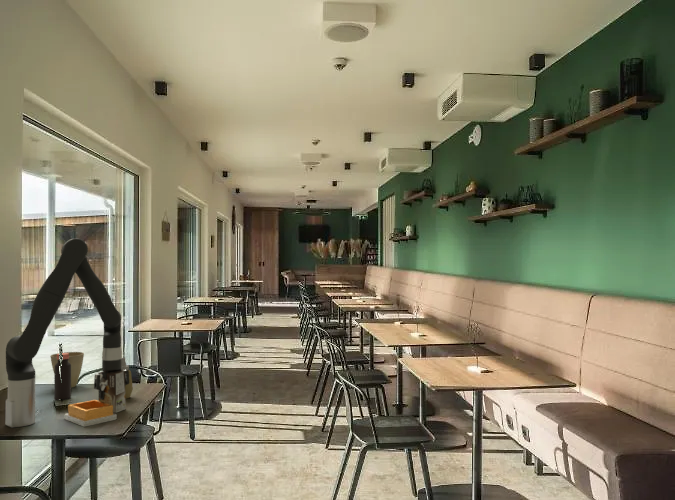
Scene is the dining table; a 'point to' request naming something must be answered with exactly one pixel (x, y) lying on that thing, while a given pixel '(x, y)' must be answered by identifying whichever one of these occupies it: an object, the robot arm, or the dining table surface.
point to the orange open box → (90, 413)
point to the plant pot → (72, 365)
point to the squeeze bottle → (129, 386)
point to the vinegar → (62, 388)
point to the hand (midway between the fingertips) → (111, 397)
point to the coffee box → (114, 390)
